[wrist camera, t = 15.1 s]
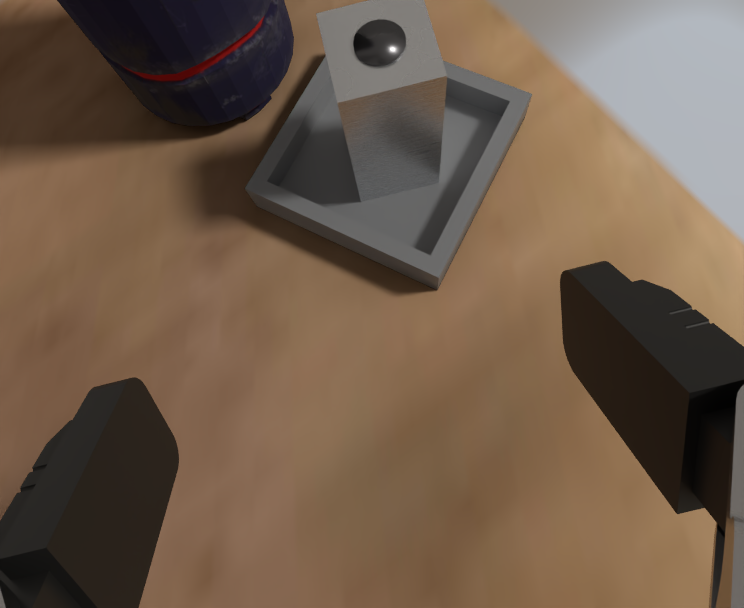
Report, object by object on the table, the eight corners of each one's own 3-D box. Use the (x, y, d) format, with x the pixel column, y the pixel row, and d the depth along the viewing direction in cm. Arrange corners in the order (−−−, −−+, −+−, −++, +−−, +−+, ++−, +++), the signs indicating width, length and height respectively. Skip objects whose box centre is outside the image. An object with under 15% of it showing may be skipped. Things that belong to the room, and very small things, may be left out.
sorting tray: (256, 206, 35) (244, 188, 32) (349, 51, 37) (345, 24, 35) (437, 290, 32) (438, 277, 30) (524, 118, 34) (532, 94, 32)
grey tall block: (360, 201, 33) (336, 100, 23) (344, 133, 34) (315, 11, 25) (438, 183, 33) (447, 73, 23) (419, 115, 34) (420, -16, 25)
